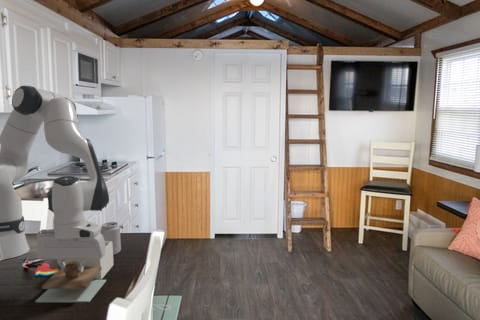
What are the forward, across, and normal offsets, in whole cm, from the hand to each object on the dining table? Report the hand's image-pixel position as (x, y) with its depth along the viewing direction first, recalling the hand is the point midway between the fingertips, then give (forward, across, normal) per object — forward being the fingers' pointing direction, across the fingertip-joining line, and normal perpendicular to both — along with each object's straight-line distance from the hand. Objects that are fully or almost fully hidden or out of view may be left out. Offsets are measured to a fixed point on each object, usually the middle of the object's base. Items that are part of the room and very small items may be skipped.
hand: (72, 271), depth 115 cm
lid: (+2, 0, 0) cm, 2 cm away
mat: (+6, 0, 0) cm, 6 cm away
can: (+6, +1, +32) cm, 32 cm away
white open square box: (+6, 0, +14) cm, 15 cm away
